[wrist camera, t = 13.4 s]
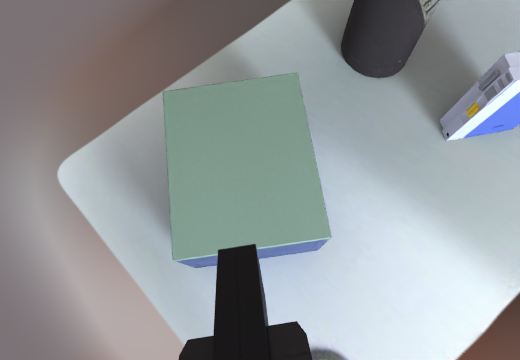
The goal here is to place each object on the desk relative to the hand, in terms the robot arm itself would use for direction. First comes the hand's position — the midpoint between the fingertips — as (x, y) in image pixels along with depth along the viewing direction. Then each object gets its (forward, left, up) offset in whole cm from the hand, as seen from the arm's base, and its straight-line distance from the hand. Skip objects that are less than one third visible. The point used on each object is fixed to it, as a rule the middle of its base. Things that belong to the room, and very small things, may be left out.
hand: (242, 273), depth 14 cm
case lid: (0, +10, -14) cm, 17 cm away
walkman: (+27, +14, -22) cm, 38 cm away
